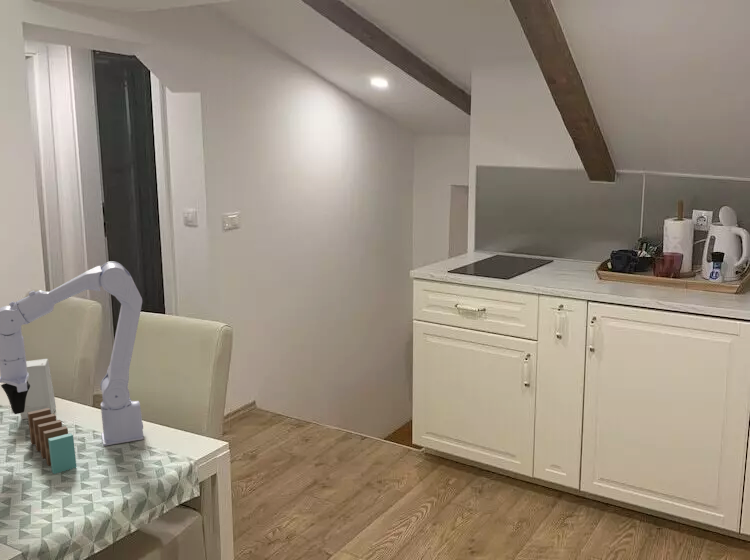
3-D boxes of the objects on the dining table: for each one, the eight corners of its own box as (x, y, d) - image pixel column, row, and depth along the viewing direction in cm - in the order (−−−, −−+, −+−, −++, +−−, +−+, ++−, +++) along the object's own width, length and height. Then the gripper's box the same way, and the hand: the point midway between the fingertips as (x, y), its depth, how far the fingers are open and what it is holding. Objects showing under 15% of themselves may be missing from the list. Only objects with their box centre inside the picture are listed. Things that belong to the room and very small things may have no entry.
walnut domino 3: (41, 456, 182) (37, 424, 180) (63, 450, 185) (59, 419, 183) (43, 458, 181) (39, 427, 179) (65, 453, 184) (61, 421, 182)
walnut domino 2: (36, 449, 186) (32, 418, 184) (57, 444, 189) (54, 413, 187) (37, 451, 185) (34, 420, 183) (59, 446, 188) (55, 415, 186)
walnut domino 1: (30, 442, 190) (27, 412, 188) (52, 437, 193) (48, 407, 191) (32, 444, 189) (28, 414, 187) (53, 439, 192) (50, 409, 190)
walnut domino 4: (46, 463, 178) (43, 431, 177) (69, 457, 181) (65, 426, 179) (48, 466, 177) (44, 433, 175) (71, 460, 180) (67, 428, 178)
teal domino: (51, 471, 174) (48, 438, 173) (74, 465, 177) (71, 433, 175) (53, 474, 173) (50, 440, 171) (76, 467, 176) (73, 435, 174)
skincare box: (56, 409, 212) (50, 357, 209) (52, 417, 206) (46, 364, 203) (23, 412, 210) (17, 360, 207) (18, 420, 204) (12, 367, 201)
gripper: (-14, 353, 182) (-7, 407, 185) (0, 368, 171) (7, 426, 174) (18, 348, 186) (24, 400, 189) (34, 362, 175) (40, 418, 178)
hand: (18, 412), depth 182 cm, fingers closed
